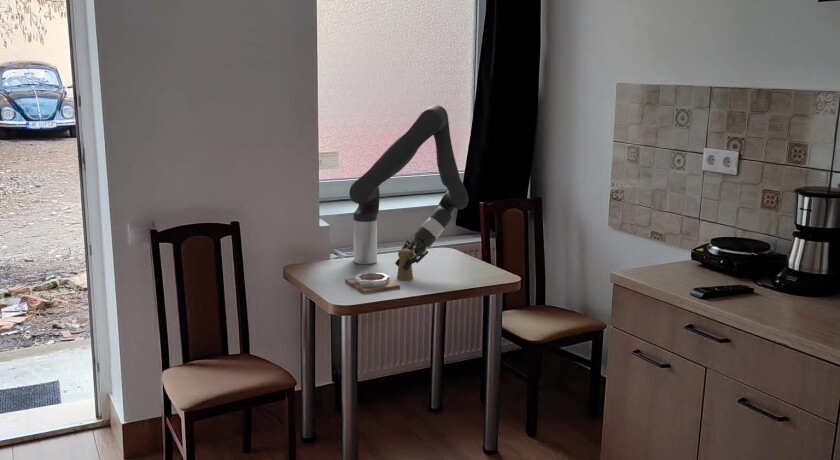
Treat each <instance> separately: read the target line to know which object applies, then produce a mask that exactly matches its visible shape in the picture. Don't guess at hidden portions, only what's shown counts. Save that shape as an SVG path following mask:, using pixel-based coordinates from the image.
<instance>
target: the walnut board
mask: <svg viewBox="0 0 840 460" xmlns="http://www.w3.org/2000/svg"><path fill="white" fill-rule="evenodd" d="M344 280H345V281H344V282H345V283H346V284H347V285H349V286H350V287H353V288H354V289H355V290H357V291H359V292H360V293H361V294H364V295H365V294H372V293H378V292H384V291H385V292H386V291H390V290H391V291H393V290H398V289H400V288H401V286H400V284H399V283H396V282H395V281H393V280H392V279H389V282H388V283H387V284H386V285H384V286H377V287H367V286H360V285H358V284H356V283H355V277H351V278H345V279H344ZM364 280H372V281H374V280H381V279H373V278H371V279H364Z"/></svg>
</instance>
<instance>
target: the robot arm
mask: <svg viewBox="0 0 840 460" xmlns="http://www.w3.org/2000/svg"><path fill="white" fill-rule="evenodd" d="M450 132H451V131H450V121H449V115H448V111H447V110H446V109H445V108H444V107H443V106H442V105H439V104H433V105H430V106H429V107H427V108H426V109H424V110H423V111H422V112H421V113H420V114H419V116H418V117H417V119H416V120H415V121H414V122H413V124H412V125H411V126H410V127H409V129H408V130H407V131H406V132H405V133H404V134H402V135H401V136H399V138H398V139H396V140H395V141H394V142H393V143H392V144H391V145H390V146H389V147H388V148H387V149H386V150H385V151H384V152H383V154H381V156H380V157H379V158H378V159H377V160H376V161H375V162H374V163H373V165H372V166H371V167H370V168H369V169H368V170H367V171H366V172H365V173H364V174H362V175H361V176H360V177H359V178H358V179H357V180H356V181H353V183H352V184H351V186H350V188H349V192H348V193H349V194H348V195H349V198H350V200H351V202H353V203H355V204H357V205H358V206H357V208H356V210H355V211H354V213H353V262H354V263H355V264H359V265H372V264H375V263H377V262H378V214H379V211H380V188H379V187H380V186H381V185H382V184H383V183H385V182H386V181H388V180H390V178H392V177H394V176H395V175H397V174H398V173H399V172H400V171H402V170H403V169H404V168H405V166H407V165H408V163H410V162H411V160H412V159H413V158H415V157H414V156H415V155H416V154H417V152H418V151H419V149H420V148H421V146H422V145H423V144H424V143H425V142H427V141H428V140H429V139H430V138H431V137H432V136H433V139H434V141H435V142H434V144H435V151H436V165H437V170H438V173H439V177H440V180H441V183H442V185H443V186H445V187H446V189H447V192H445V193H444V194H443V196H442V197H441V199H440V201H439V203H438V204H437V207H436V209H435V210H434V211H433V212H432V213H431V215H430V216H429V217H428V218H427V219H426V220H424V222H423V223H422V224H421V225H420V227H419V228H418V229H417V231H415V233H414V234H413V237H414V239H413V240H411V241H409V240H406V241H405V242H404V244H403V245H402V247H401V249H410V250H411V256H410V258H409V259H408V260H407V261H406V262H405V264H404V265H403V266H402V268H403V269H404V270H408V269H409V267H410V266H411V265H413V264H415V263H416V264H418V263H420V261H422V259H424V258H425V257H426V255H427V254H428V253H429V251H428V250H427V248H428V249H429V248H431V246H432V245H433V244H434V243H435V242H436V240H437V239H438V238H439V236H440V235H441V234H442V233H443V231H444V230H445V228H446V227H447V226H448V225H449V223H450V222H451V220H452V218H453V217H452V213H453V211H455V210H463V209H465V208H466V207H467V206H468V204H469V194H468V191H467V189H466V187H465V185H464V183H463V181H462V179H461V177H460V173H459V170H458V165H457V162H456V158H455V154H454V149H453V145H452V137H451V133H450ZM399 259H400V258H399V257H398V259H396V261H395V263H394V264H395V265H396V266H397V268H398V267H399Z"/></svg>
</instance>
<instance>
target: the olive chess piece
mask: <svg viewBox="0 0 840 460" xmlns="http://www.w3.org/2000/svg"><path fill="white" fill-rule="evenodd" d="M397 256H398V259H399V258H400V259H399V267H398V266H397V274H396V275H397V276H396V279H397V280H399V281H411V280H414V276H413V275H414V274H413V266H412V265H413V264H412V265H411V266H410V267H409V269H408V270H404V269H403V268H402V266H403V265H404V264H405V262H406V261H407V260H408V259H409V258H410V256H411V250H410V249H402V248H401V249H399V250H398V253H397Z"/></svg>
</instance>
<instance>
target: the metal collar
mask: <svg viewBox="0 0 840 460" xmlns="http://www.w3.org/2000/svg"><path fill="white" fill-rule="evenodd" d="M354 278H355V283H356V284H358V285H360V286H367V287H377V286H384V285H386V284H387V283H388V282H389V280H390V275H387V274H386V273H384V272H373V271H370V272H364V273H358V274H357V275H356V276H355V277H354ZM371 278H373V279H381V280H374V281H372V280H364V279H371Z"/></svg>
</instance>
